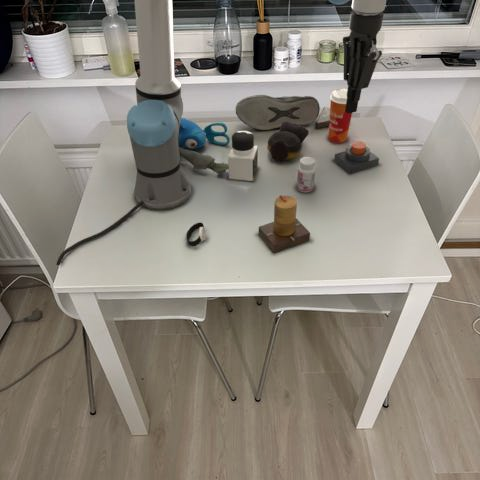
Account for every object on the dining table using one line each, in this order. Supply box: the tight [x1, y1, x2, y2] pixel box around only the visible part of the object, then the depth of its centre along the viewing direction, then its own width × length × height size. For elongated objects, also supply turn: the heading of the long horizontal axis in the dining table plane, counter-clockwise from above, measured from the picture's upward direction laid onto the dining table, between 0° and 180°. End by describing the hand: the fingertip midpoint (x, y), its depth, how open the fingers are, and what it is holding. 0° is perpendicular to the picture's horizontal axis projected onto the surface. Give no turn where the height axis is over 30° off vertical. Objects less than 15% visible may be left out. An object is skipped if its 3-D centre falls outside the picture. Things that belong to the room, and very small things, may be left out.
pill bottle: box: [296, 156, 317, 193], centre depth 128 cm, size 5×5×8 cm
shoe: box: [235, 94, 321, 131], centre depth 154 cm, size 10×27×12 cm
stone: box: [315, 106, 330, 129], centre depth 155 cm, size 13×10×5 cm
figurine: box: [266, 122, 309, 163], centre depth 141 cm, size 10×7×15 cm
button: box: [351, 141, 367, 155], centre depth 136 cm, size 4×4×2 cm
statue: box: [178, 146, 229, 175], centre depth 138 cm, size 7×8×30 cm
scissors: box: [202, 122, 231, 146], centre depth 148 cm, size 7×1×20 cm
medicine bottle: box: [227, 130, 259, 182], centre depth 132 cm, size 7×7×12 cm
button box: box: [333, 144, 380, 175], centre depth 138 cm, size 10×8×4 cm
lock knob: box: [273, 194, 298, 236], centre depth 112 cm, size 5×5×8 cm
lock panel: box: [258, 217, 311, 254], centre depth 116 cm, size 10×9×3 cm
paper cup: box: [328, 88, 353, 144], centre depth 143 cm, size 8×8×14 cm
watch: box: [185, 222, 207, 247], centre depth 116 cm, size 8×5×4 cm, turn 170°
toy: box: [178, 117, 207, 150], centre depth 143 cm, size 12×18×10 cm
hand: (350, 111), depth 127 cm, fingers closed
